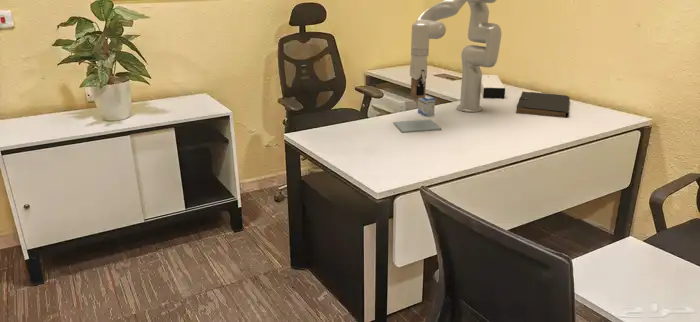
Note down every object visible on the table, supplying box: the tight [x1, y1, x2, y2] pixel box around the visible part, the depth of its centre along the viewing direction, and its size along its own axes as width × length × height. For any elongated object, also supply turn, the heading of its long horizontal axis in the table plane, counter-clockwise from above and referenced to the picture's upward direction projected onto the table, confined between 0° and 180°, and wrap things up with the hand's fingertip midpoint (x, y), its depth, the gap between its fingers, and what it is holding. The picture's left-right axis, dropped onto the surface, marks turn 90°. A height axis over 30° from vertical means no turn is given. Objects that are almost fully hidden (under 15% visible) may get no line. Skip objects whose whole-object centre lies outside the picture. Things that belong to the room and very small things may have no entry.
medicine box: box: [417, 94, 436, 117], centre depth 258 cm, size 8×4×9 cm, turn 27°
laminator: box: [480, 74, 506, 100], centre depth 301 cm, size 34×12×6 cm, turn 172°
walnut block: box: [410, 77, 427, 99], centre depth 233 cm, size 5×5×8 cm
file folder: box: [515, 91, 570, 119], centre depth 269 cm, size 33×4×24 cm
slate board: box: [393, 119, 442, 134], centre depth 240 cm, size 14×18×1 cm
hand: (417, 93), depth 234 cm, fingers closed on walnut block, 5 cm apart
